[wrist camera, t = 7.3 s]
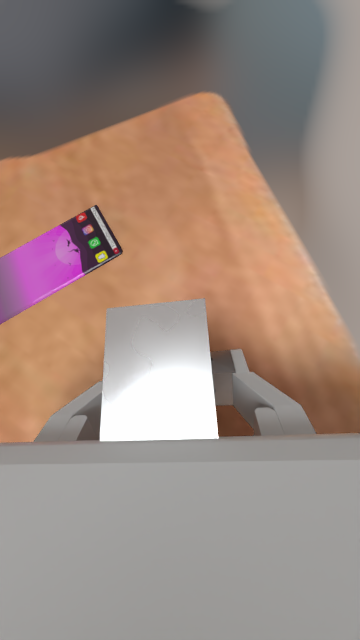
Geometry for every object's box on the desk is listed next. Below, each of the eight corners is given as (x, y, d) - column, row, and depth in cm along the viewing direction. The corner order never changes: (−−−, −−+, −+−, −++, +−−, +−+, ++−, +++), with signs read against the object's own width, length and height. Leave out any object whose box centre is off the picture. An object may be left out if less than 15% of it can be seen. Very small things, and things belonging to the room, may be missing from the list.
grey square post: (213, 408, 14) (219, 456, 5) (170, 410, 15) (98, 458, 5) (208, 348, 16) (204, 293, 6) (168, 351, 16) (107, 303, 6)
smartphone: (126, 258, 20) (123, 252, 19) (-16, 336, 19) (-27, 334, 18) (99, 210, 22) (95, 202, 22) (-29, 277, 22) (-39, 273, 21)
